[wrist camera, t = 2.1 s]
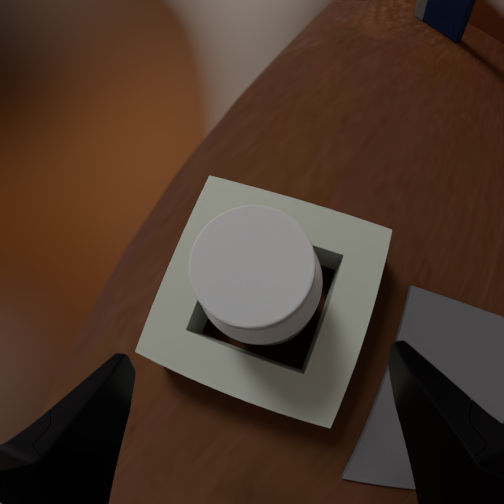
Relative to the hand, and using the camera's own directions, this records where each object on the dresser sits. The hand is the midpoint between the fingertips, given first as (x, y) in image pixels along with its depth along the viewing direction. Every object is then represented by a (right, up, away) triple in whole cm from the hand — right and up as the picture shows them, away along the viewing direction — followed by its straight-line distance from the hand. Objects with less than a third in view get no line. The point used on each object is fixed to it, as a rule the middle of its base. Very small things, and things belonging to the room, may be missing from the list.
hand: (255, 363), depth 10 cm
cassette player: (+26, +35, +19) cm, 47 cm away
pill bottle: (+1, 0, +11) cm, 11 cm away
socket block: (+1, 0, +11) cm, 11 cm away
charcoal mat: (+14, -7, +7) cm, 17 cm away
